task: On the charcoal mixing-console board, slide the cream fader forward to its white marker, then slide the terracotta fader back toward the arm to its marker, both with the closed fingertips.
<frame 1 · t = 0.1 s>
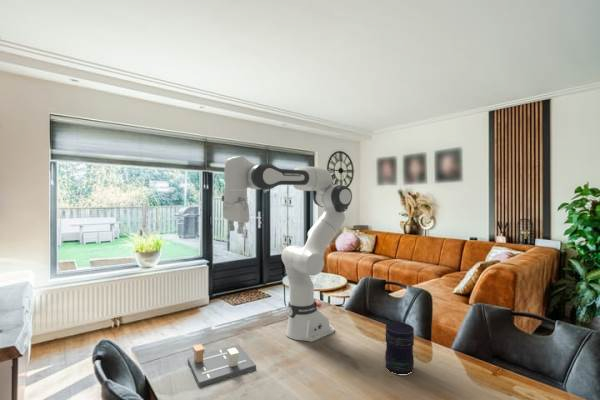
hand: (235, 232, 124), 48 cm above the table, fingers open, 8 cm apart
storage jar: (399, 368, 114), on the table
cream fader: (232, 357, 113), point 4 cm above the table, slide at -3.0 cm
terracotta fader: (198, 353, 116), point 4 cm above the table, slide at 7.0 cm
console: (221, 365, 115), on the table
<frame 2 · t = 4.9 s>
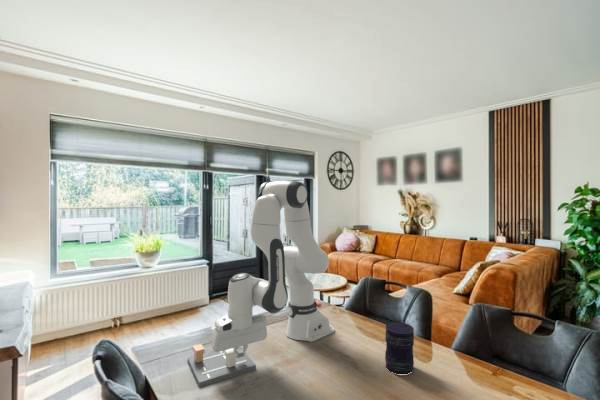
hand: (240, 356, 114), 4 cm above the table, fingers closed
cream fader: (230, 357, 113), point 4 cm above the table, slide at -2.2 cm, touching gripper
everything else where it was.
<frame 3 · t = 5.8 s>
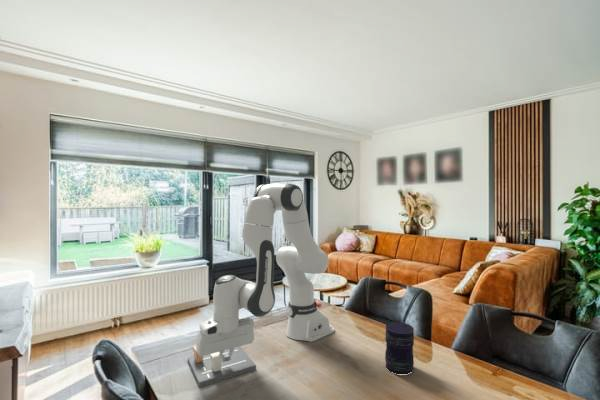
hand: (226, 360, 112), 4 cm above the table, fingers closed
cream fader: (216, 362, 110), point 4 cm above the table, slide at 3.1 cm, touching gripper
everything else where it was.
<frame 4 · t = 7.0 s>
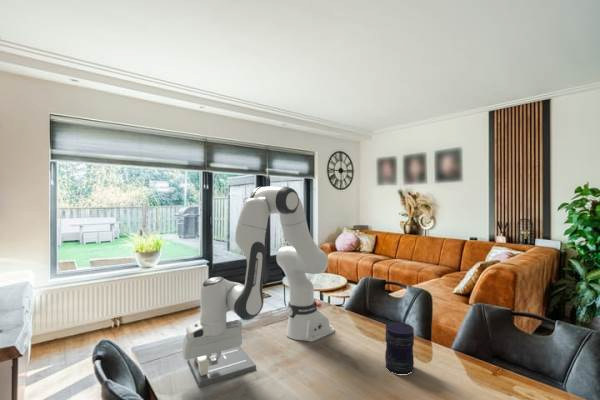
hand: (213, 364, 109), 4 cm above the table, fingers closed
cream fader: (203, 365, 108), point 4 cm above the table, slide at 7.6 cm, touching gripper
everything else where it was.
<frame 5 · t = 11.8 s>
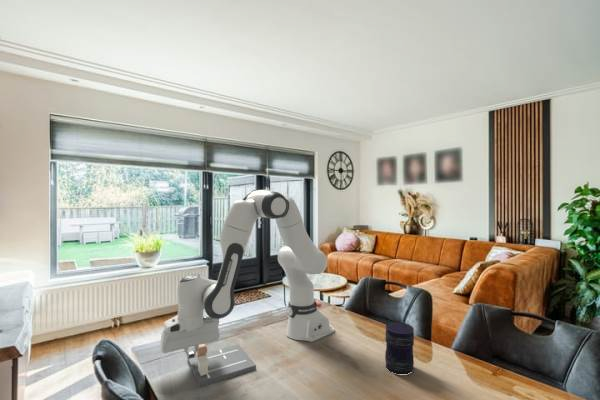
hand: (191, 357, 114), 3 cm above the table, fingers closed
cream fader: (203, 365, 108), point 4 cm above the table, slide at 7.6 cm
terracotta fader: (201, 352, 116), point 4 cm above the table, slide at 5.9 cm, touching gripper
everything else where it was.
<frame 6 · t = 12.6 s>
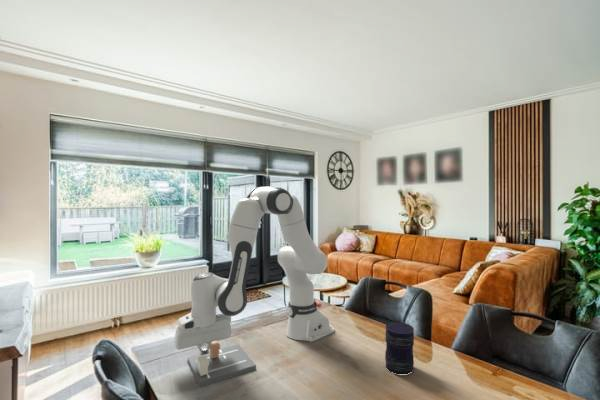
hand: (204, 354, 117), 3 cm above the table, fingers closed
terracotta fader: (214, 349, 119), point 4 cm above the table, slide at 1.2 cm, touching gripper
everything else where it was.
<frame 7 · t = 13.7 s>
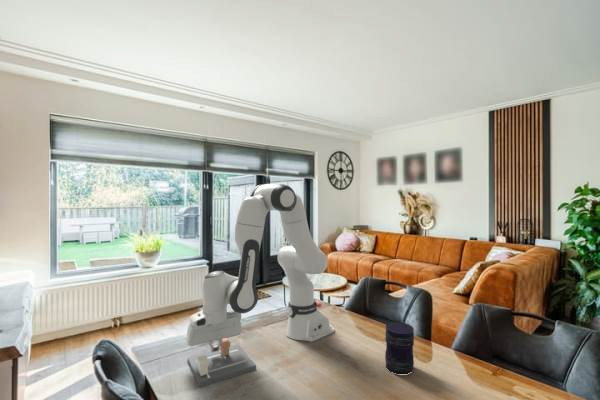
hand: (215, 350, 119), 4 cm above the table, fingers closed
terracotta fader: (224, 346, 121), point 4 cm above the table, slide at -2.8 cm, touching gripper
everything else where it was.
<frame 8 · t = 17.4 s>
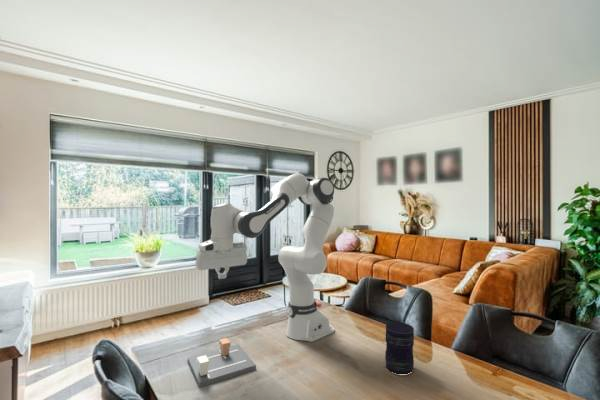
hand: (222, 278, 126), 29 cm above the table, fingers closed
terracotta fader: (224, 346, 121), point 4 cm above the table, slide at -2.8 cm
everything else where it was.
at the end: cream fader slide at 7.6 cm; terracotta fader slide at -2.8 cm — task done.
